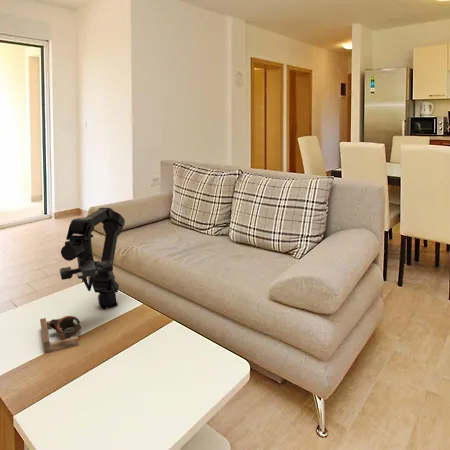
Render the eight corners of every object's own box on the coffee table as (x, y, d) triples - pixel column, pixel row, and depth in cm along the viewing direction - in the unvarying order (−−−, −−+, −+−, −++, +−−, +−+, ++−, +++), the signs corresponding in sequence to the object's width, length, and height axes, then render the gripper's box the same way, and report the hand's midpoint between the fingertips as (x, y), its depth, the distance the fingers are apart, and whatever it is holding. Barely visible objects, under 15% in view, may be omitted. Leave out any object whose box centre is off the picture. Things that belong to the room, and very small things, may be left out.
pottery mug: (86, 328, 159) (85, 315, 153) (76, 350, 152) (74, 338, 146) (55, 321, 158) (53, 308, 153) (43, 343, 151) (41, 330, 146)
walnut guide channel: (72, 322, 163) (70, 312, 162) (78, 344, 146) (77, 334, 145) (41, 328, 158) (39, 319, 157) (44, 353, 142) (43, 342, 141)
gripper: (60, 262, 147) (65, 303, 151) (114, 253, 155) (118, 292, 158) (57, 253, 157) (62, 292, 160) (108, 245, 164) (112, 283, 168)
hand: (89, 290), depth 162 cm, fingers closed
